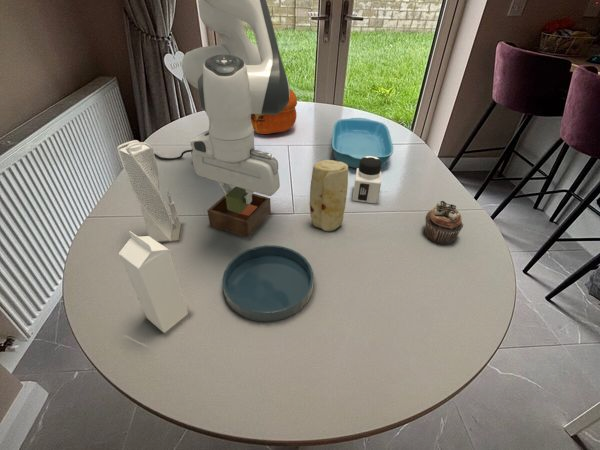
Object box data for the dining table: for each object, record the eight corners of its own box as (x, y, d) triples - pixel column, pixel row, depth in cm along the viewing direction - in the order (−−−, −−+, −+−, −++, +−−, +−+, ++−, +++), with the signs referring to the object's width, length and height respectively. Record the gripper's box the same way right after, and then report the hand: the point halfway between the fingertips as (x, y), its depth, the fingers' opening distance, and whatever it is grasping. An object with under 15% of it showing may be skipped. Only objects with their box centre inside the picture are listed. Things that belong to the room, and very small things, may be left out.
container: (376, 204, 104) (384, 167, 95) (352, 200, 105) (357, 164, 97) (377, 191, 110) (384, 155, 101) (353, 188, 111) (359, 152, 102)
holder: (210, 226, 93) (207, 210, 90) (234, 203, 102) (232, 187, 99) (248, 239, 89) (247, 222, 86) (271, 213, 98) (270, 198, 95)
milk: (171, 301, 73) (144, 221, 59) (189, 315, 70) (165, 234, 56) (146, 319, 69) (111, 238, 55) (164, 335, 66) (132, 254, 53)
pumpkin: (307, 126, 150) (308, 80, 138) (278, 144, 135) (277, 94, 123) (266, 116, 160) (264, 71, 147) (235, 131, 145) (229, 83, 132)
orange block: (239, 223, 94) (237, 212, 91) (248, 214, 97) (247, 203, 94) (250, 227, 92) (249, 215, 90) (258, 217, 96) (257, 206, 93)
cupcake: (457, 249, 88) (470, 219, 81) (419, 241, 90) (429, 211, 84) (457, 228, 95) (469, 199, 89) (422, 220, 97) (431, 192, 91)
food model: (341, 218, 97) (348, 156, 85) (344, 233, 92) (353, 169, 80) (308, 218, 97) (310, 156, 85) (309, 233, 92) (312, 169, 79)
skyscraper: (177, 244, 87) (149, 145, 70) (145, 247, 86) (108, 147, 68) (181, 224, 94) (156, 129, 76) (151, 227, 92) (118, 131, 75)
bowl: (206, 302, 73) (203, 292, 70) (253, 246, 87) (252, 236, 85) (289, 337, 66) (289, 327, 64) (325, 270, 81) (326, 260, 79)
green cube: (227, 209, 77) (225, 195, 75) (238, 199, 81) (236, 185, 78) (240, 213, 76) (238, 199, 74) (250, 202, 79) (249, 188, 77)
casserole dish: (393, 177, 116) (397, 159, 112) (329, 173, 118) (330, 154, 114) (383, 134, 145) (386, 118, 141) (332, 131, 147) (334, 115, 142)
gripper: (284, 149, 67) (284, 204, 76) (202, 129, 74) (210, 182, 82) (270, 162, 63) (271, 219, 72) (183, 140, 69) (194, 195, 78)
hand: (238, 199), depth 77 cm, fingers closed on green cube, 3 cm apart
